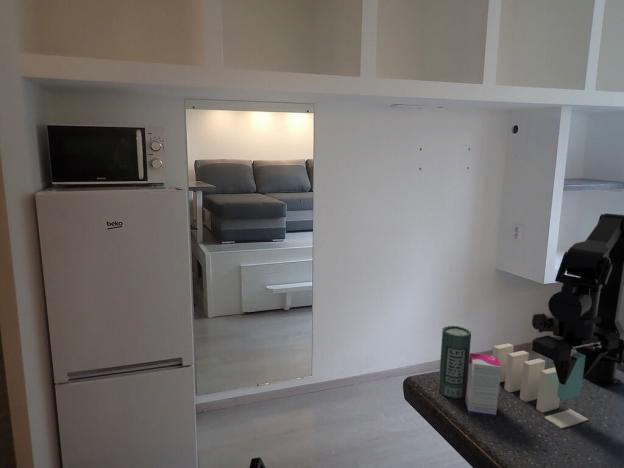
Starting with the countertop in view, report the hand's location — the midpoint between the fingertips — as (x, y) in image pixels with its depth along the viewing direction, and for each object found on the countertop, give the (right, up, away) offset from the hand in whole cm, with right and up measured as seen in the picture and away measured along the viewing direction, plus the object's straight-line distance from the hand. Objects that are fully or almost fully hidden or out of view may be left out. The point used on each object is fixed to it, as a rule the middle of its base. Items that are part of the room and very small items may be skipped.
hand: (571, 381), depth 93 cm
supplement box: (-17, -8, +5) cm, 19 cm away
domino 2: (-6, -6, +14) cm, 16 cm away
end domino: (0, -3, +1) cm, 3 cm away
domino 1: (-7, -6, +18) cm, 20 cm away
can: (-21, -7, +12) cm, 25 cm away
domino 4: (-2, -8, +6) cm, 10 cm away
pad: (0, -9, +1) cm, 9 cm away
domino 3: (-4, -7, +10) cm, 12 cm away
